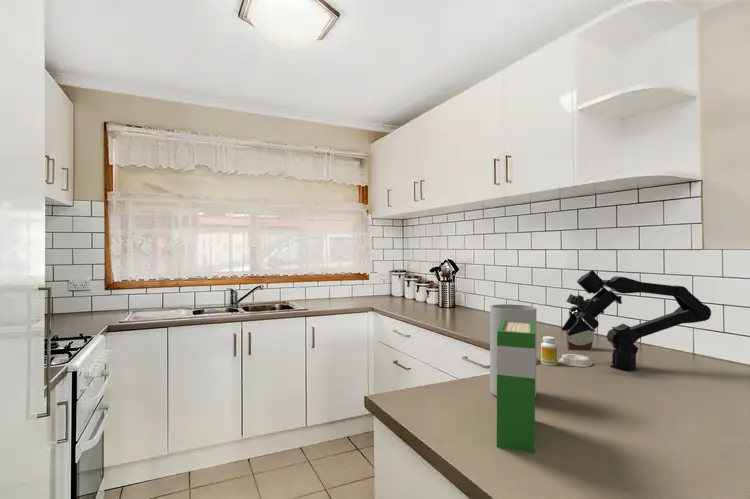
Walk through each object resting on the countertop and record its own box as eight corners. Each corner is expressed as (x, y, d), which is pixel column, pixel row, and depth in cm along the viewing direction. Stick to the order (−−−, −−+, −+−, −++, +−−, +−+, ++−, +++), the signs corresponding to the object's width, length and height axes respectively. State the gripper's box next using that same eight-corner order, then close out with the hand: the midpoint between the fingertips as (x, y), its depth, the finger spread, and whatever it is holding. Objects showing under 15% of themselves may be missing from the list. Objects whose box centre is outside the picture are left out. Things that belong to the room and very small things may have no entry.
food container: (589, 347, 178) (589, 324, 178) (595, 351, 172) (595, 327, 172) (559, 347, 179) (559, 324, 179) (564, 350, 173) (564, 326, 173)
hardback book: (501, 415, 102) (502, 318, 103) (533, 420, 100) (534, 320, 100) (496, 446, 86) (497, 331, 86) (534, 453, 83) (535, 333, 83)
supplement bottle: (558, 366, 148) (558, 339, 149) (542, 365, 149) (542, 338, 150) (555, 362, 154) (555, 336, 154) (539, 361, 155) (539, 335, 155)
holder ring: (599, 365, 150) (599, 359, 150) (577, 368, 146) (577, 362, 146) (573, 358, 160) (573, 352, 160) (552, 360, 156) (552, 355, 156)
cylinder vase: (506, 404, 110) (506, 310, 110) (481, 389, 122) (482, 304, 123) (545, 400, 114) (546, 309, 114) (518, 386, 126) (518, 303, 126)
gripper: (575, 285, 158) (544, 312, 161) (588, 288, 140) (553, 320, 143) (597, 306, 157) (566, 333, 159) (614, 313, 138) (578, 344, 141)
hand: (565, 332), depth 150 cm, fingers open, 9 cm apart
